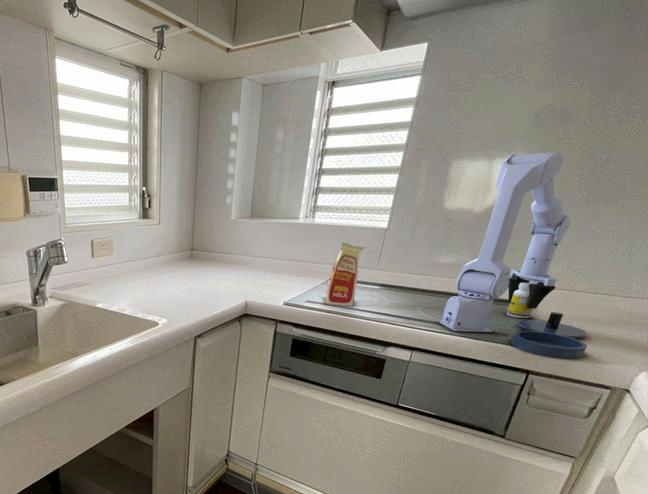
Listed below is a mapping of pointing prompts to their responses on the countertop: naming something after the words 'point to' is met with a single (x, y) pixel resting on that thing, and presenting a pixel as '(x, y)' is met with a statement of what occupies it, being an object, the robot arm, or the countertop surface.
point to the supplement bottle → (520, 302)
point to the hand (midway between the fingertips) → (521, 304)
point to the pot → (549, 344)
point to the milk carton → (344, 276)
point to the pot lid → (553, 326)
